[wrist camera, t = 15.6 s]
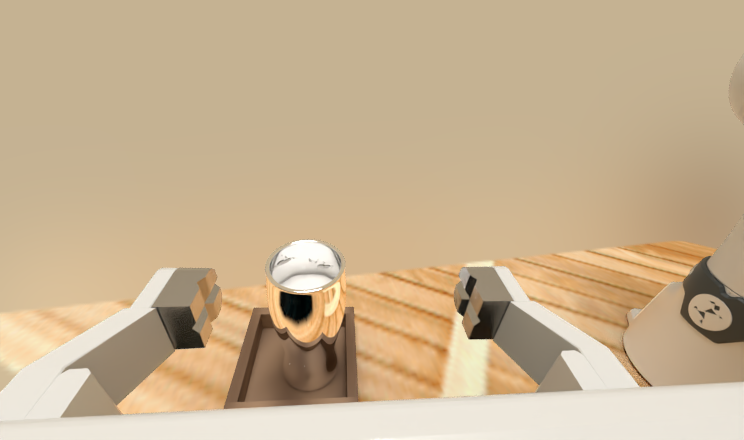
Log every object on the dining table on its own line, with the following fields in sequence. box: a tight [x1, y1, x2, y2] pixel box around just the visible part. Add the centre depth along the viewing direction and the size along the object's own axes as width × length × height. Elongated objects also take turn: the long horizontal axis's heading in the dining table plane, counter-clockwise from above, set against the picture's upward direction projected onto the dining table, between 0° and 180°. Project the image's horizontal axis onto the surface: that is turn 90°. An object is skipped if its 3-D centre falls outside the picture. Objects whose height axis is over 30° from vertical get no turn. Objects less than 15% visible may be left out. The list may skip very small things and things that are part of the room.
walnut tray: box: [224, 307, 358, 409], centre depth 34 cm, size 12×12×4 cm
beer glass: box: [265, 239, 346, 391], centre depth 30 cm, size 7×7×15 cm
